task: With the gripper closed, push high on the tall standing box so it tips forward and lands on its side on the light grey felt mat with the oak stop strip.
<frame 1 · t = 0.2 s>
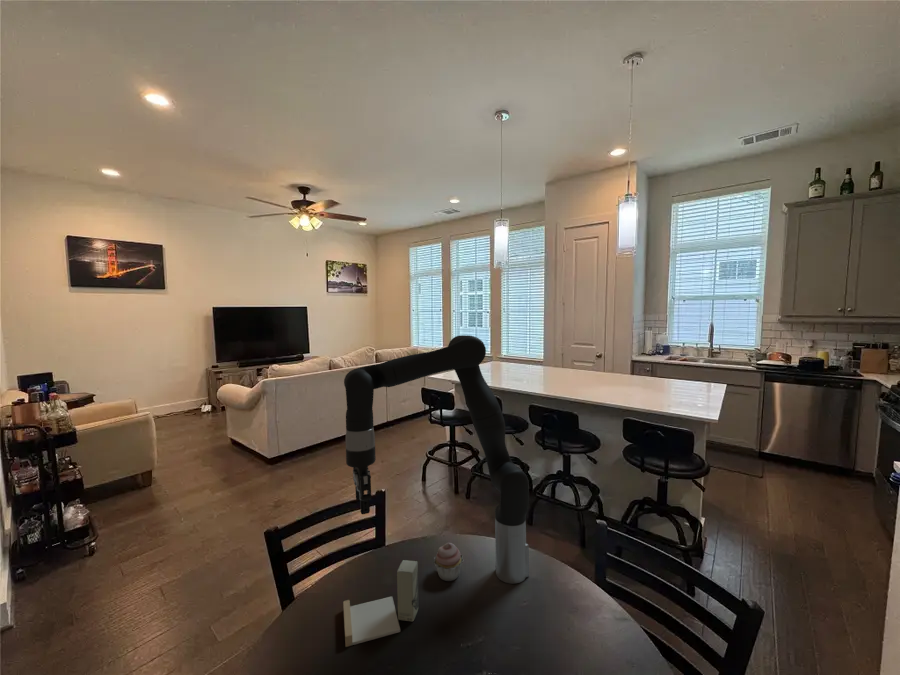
hand: (362, 505, 97), 29 cm above the table, fingers open, 8 cm apart
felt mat: (372, 620, 95), on the table
cupcake: (448, 575, 112), on the table
box: (408, 614, 97), on the table
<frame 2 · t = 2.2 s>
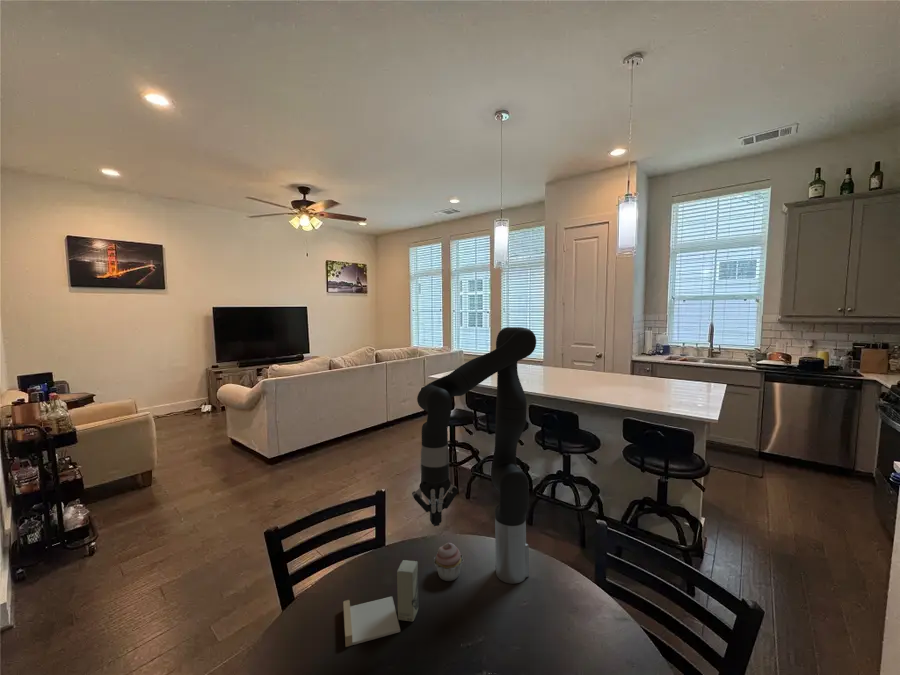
hand: (435, 524, 99), 22 cm above the table, fingers closed
nothing on the table moved.
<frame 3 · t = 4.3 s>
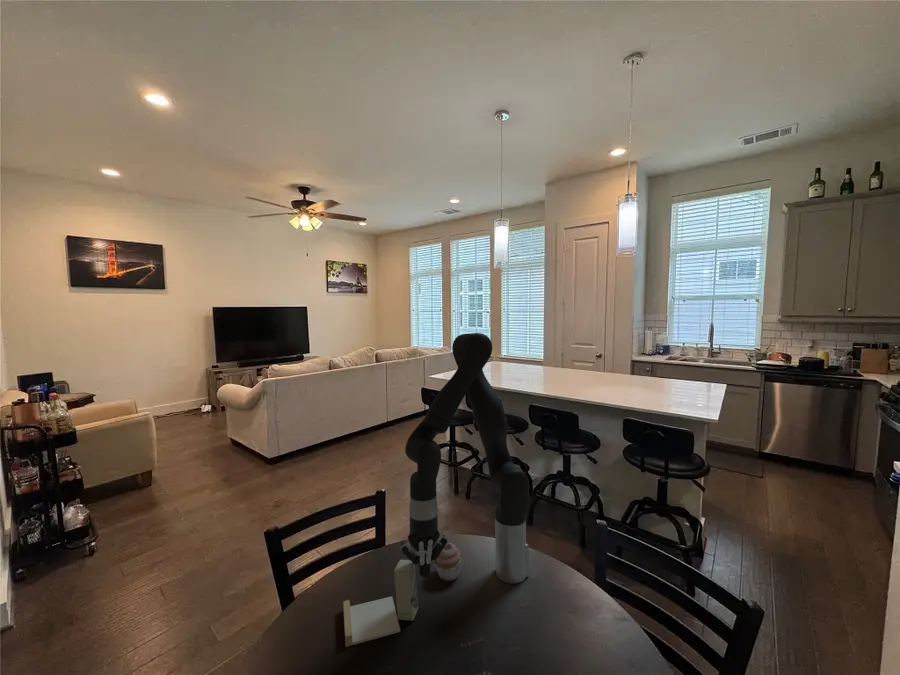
hand: (424, 575, 98), 9 cm above the table, fingers closed
box: (408, 614, 97), on the table, touching gripper
everything else where it was.
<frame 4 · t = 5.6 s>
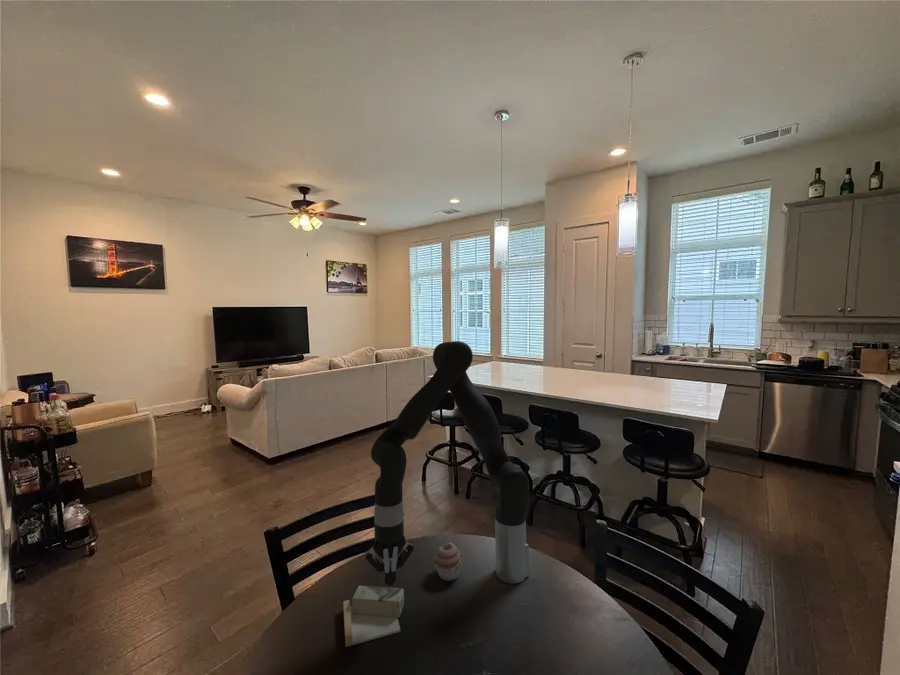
hand: (389, 583, 95), 9 cm above the table, fingers closed
box: (403, 602, 97), point 3 cm above the table, touching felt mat
everything else where it was.
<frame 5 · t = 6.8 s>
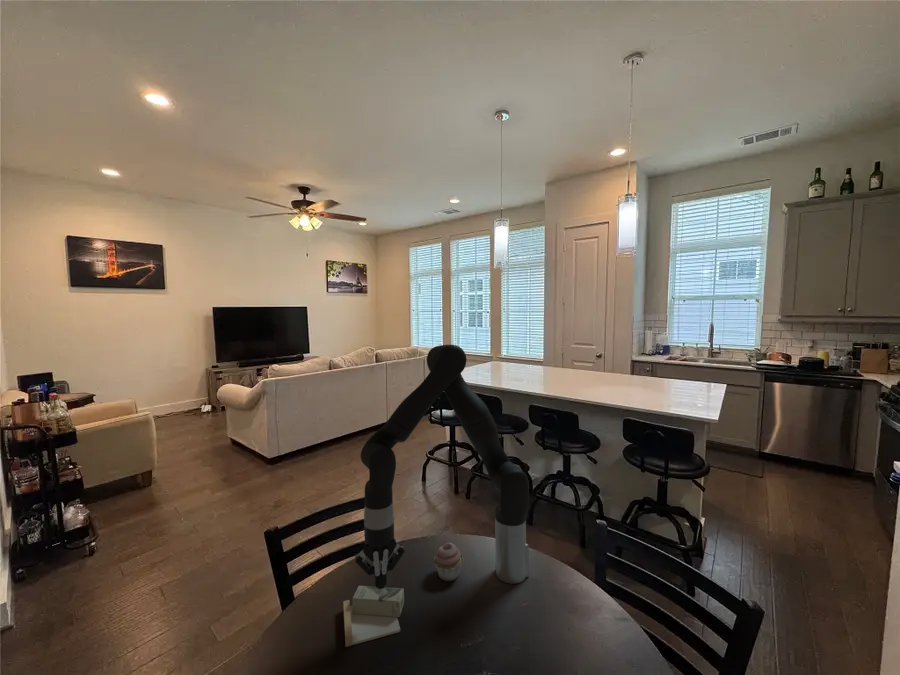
hand: (380, 586, 95), 9 cm above the table, fingers closed
nothing on the table moved.
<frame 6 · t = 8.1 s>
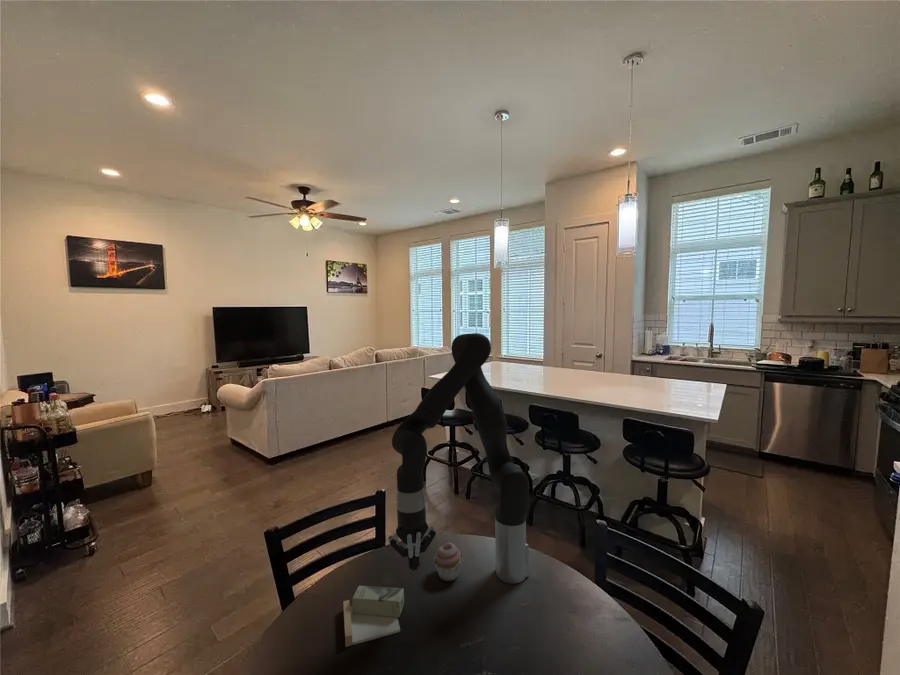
hand: (413, 568, 98), 12 cm above the table, fingers closed
nothing on the table moved.
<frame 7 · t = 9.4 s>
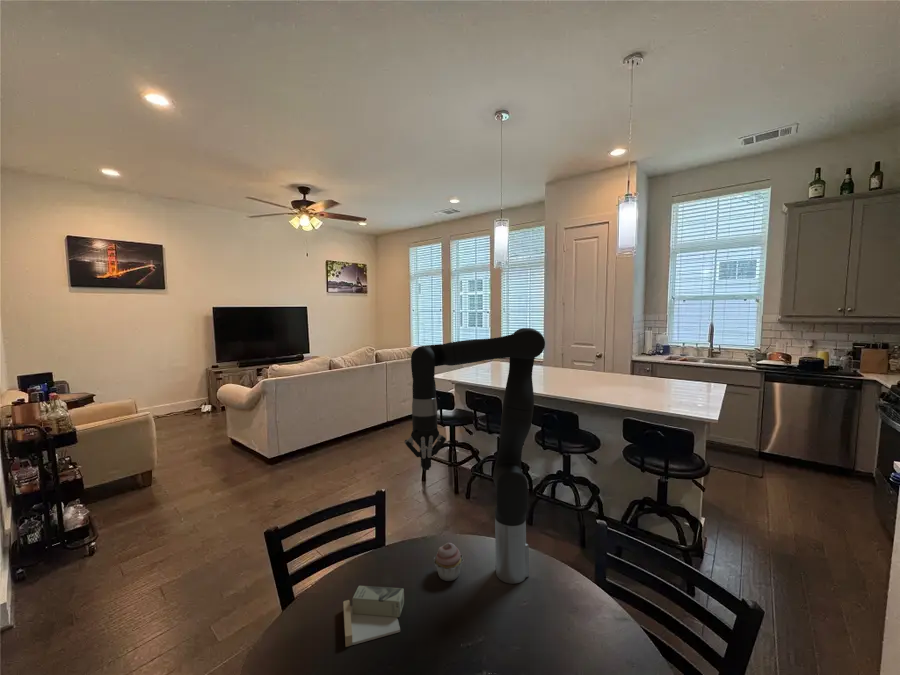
hand: (426, 469, 111), 33 cm above the table, fingers closed
nothing on the table moved.
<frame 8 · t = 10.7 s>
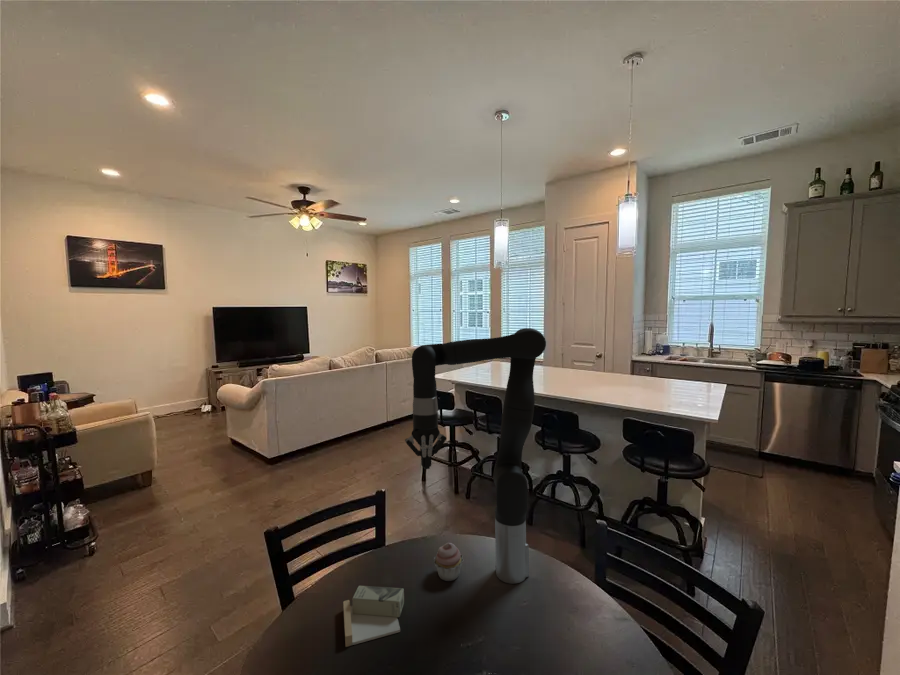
hand: (426, 468, 111), 33 cm above the table, fingers closed
nothing on the table moved.
at the end: box tilted 90°; box inside the target area (7.9 cm from its centre), point 2.7 cm above the table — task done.
